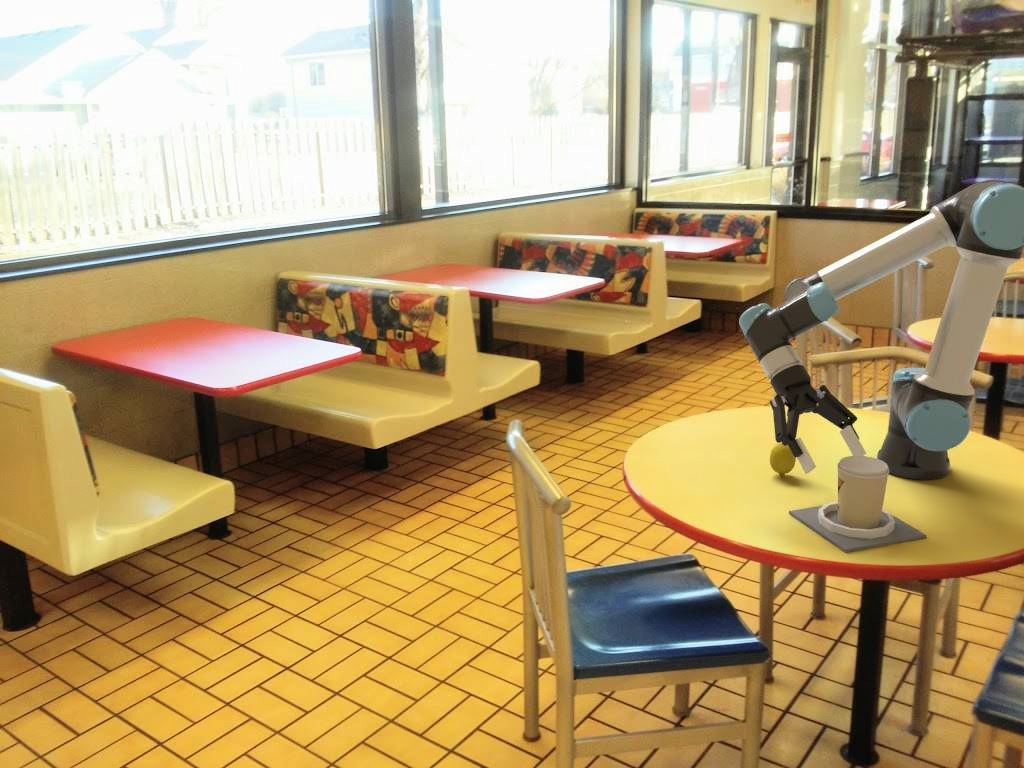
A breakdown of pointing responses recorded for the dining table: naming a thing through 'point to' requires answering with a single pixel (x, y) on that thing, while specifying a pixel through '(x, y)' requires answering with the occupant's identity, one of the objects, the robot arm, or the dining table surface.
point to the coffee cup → (861, 491)
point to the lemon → (782, 459)
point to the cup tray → (855, 542)
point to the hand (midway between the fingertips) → (836, 463)
